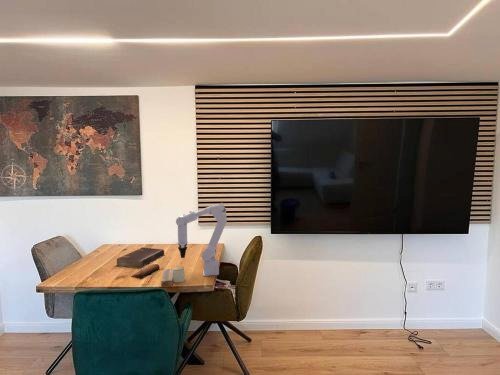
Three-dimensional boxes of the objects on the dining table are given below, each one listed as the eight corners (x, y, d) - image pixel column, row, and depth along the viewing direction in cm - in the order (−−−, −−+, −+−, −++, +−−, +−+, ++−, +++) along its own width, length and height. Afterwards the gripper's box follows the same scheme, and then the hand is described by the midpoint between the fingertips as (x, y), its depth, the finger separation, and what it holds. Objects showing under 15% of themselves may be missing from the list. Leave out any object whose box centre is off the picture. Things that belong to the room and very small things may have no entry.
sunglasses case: (148, 267, 201) (153, 259, 199) (156, 273, 199) (161, 265, 198) (130, 277, 184) (134, 268, 182) (138, 284, 182) (142, 275, 181)
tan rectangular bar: (173, 272, 192) (173, 268, 192) (172, 284, 172) (172, 280, 172) (163, 273, 190) (163, 269, 190) (161, 285, 171) (161, 281, 171)
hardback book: (141, 268, 201) (140, 261, 200) (116, 266, 206) (116, 258, 205) (164, 255, 229) (164, 249, 228) (142, 253, 234) (142, 247, 233)
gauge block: (184, 278, 182) (183, 266, 181) (184, 281, 177) (183, 269, 176) (172, 279, 180) (172, 267, 180) (172, 282, 176) (172, 270, 175)
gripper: (176, 232, 198) (176, 253, 199) (175, 238, 184) (176, 259, 185) (187, 232, 200) (187, 252, 201) (187, 237, 186) (188, 259, 187)
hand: (182, 256), depth 193 cm, fingers open, 7 cm apart
